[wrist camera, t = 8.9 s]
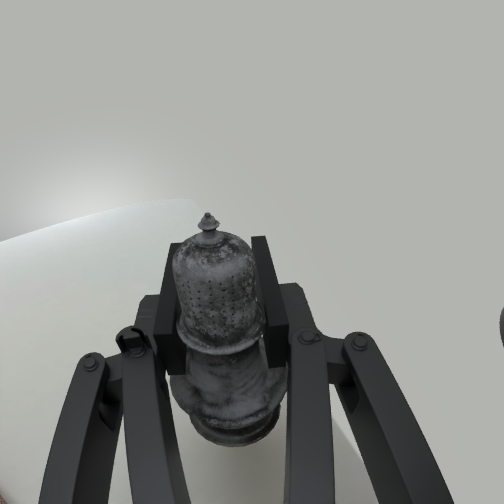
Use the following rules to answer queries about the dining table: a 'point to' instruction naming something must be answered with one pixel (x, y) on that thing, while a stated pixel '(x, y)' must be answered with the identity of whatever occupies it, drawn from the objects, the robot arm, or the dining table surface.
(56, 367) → the dining table surface
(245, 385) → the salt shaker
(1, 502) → the brown square base plate
